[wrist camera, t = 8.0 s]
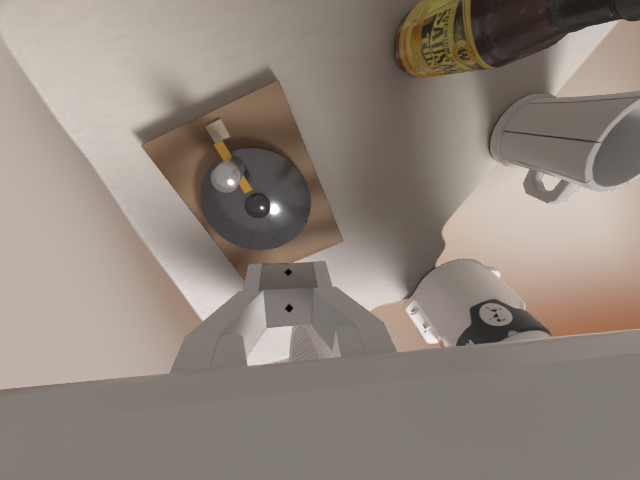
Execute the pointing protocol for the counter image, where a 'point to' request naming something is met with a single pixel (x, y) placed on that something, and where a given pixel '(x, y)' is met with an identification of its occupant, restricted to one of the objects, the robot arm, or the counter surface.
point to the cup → (571, 142)
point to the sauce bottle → (493, 31)
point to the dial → (255, 197)
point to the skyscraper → (307, 345)
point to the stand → (238, 132)
